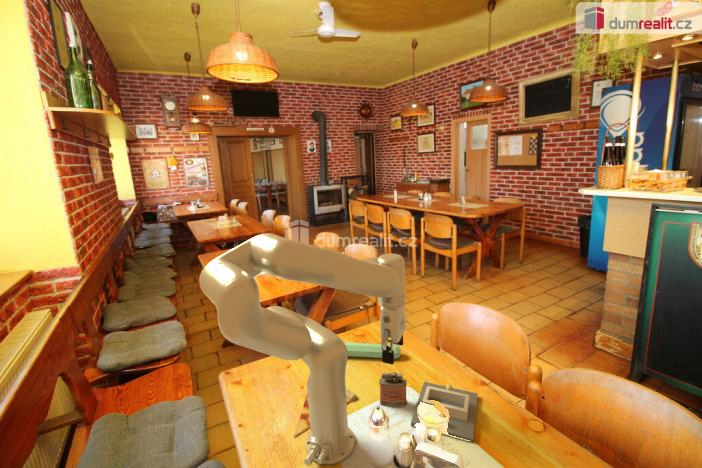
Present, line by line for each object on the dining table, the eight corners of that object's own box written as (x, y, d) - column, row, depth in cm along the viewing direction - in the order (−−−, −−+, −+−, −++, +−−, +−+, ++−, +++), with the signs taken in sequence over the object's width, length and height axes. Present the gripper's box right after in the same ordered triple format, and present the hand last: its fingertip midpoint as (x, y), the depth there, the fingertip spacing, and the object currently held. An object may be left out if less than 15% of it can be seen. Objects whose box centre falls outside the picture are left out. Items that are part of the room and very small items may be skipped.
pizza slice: (267, 407, 103) (266, 402, 103) (326, 375, 117) (326, 370, 117) (294, 438, 92) (293, 432, 91) (357, 399, 105) (356, 393, 105)
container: (400, 340, 125) (333, 337, 128) (400, 354, 120) (330, 350, 124) (400, 350, 129) (335, 346, 132) (400, 364, 124) (332, 360, 127)
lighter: (406, 399, 104) (406, 370, 101) (407, 407, 100) (407, 377, 98) (379, 398, 105) (378, 369, 102) (379, 406, 101) (378, 376, 99)
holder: (472, 442, 87) (473, 429, 86) (410, 426, 94) (410, 412, 93) (477, 396, 103) (478, 384, 102) (424, 384, 110) (424, 373, 109)
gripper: (396, 314, 86) (397, 374, 90) (412, 287, 101) (413, 339, 105) (368, 310, 89) (370, 368, 93) (387, 285, 104) (389, 336, 108)
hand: (393, 353), depth 99 cm, fingers open, 9 cm apart
